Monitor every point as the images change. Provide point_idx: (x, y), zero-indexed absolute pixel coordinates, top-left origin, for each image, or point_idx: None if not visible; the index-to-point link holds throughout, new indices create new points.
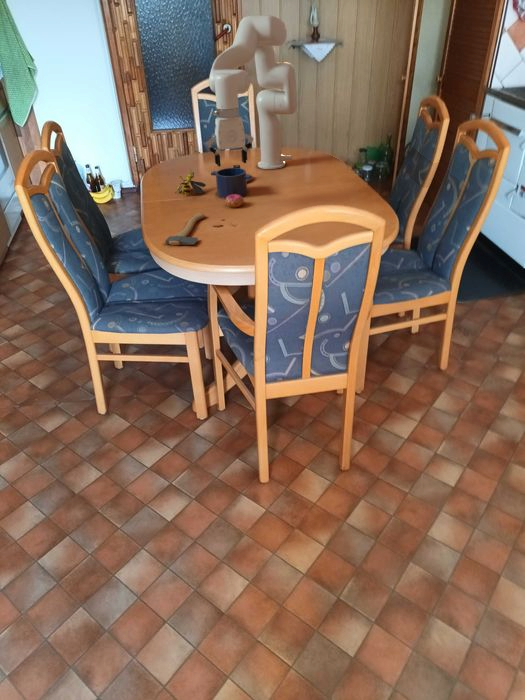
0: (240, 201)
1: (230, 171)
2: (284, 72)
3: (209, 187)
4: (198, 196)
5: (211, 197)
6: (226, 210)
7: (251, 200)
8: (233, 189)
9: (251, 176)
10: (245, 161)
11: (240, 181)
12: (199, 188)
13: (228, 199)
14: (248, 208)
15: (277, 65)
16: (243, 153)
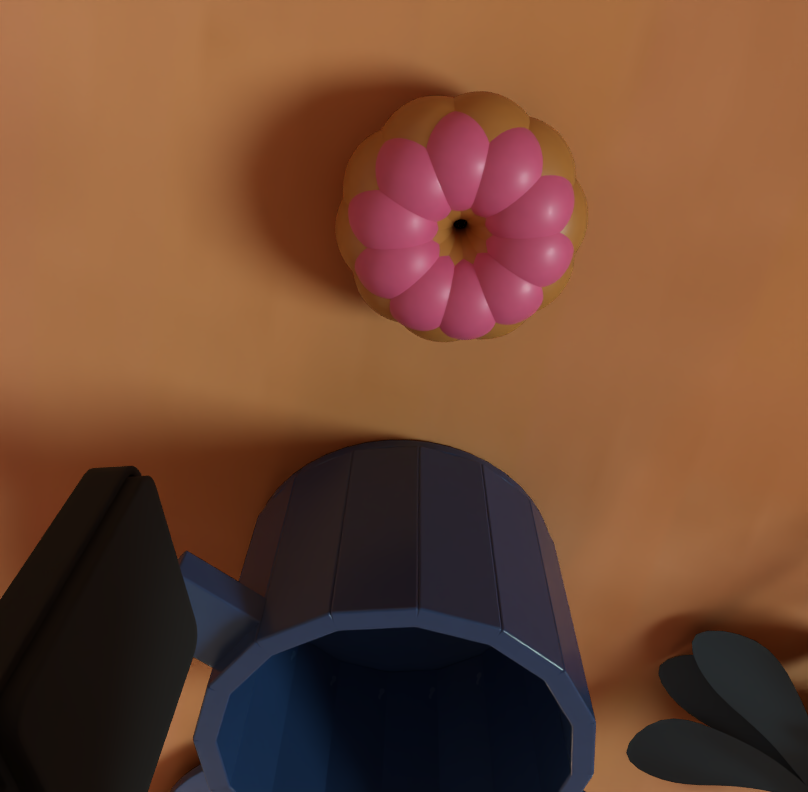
0: (395, 120)
1: None
2: None
3: None
4: (741, 594)
5: (631, 533)
6: (600, 65)
7: (232, 313)
8: (411, 496)
9: None
10: (95, 488)
11: (305, 565)
12: (720, 689)
13: (558, 179)
14: (305, 37)
15: None
16: (46, 712)
